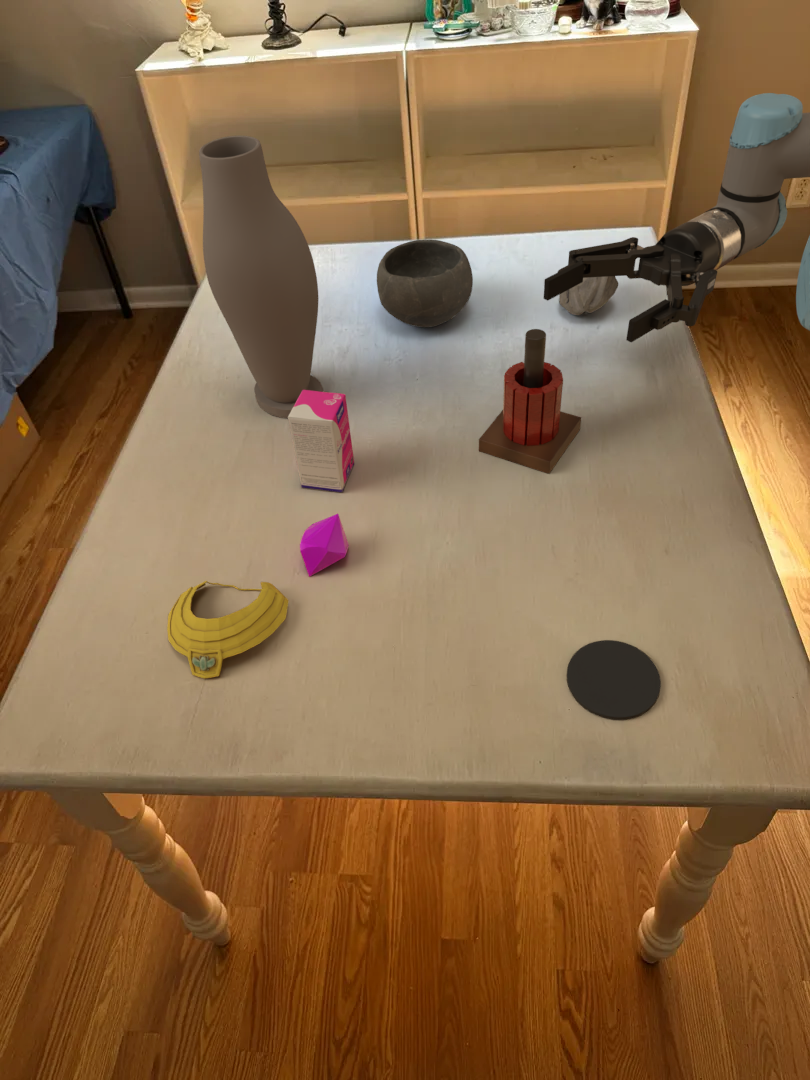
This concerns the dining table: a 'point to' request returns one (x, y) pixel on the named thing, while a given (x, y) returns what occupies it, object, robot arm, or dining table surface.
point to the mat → (613, 679)
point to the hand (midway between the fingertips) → (586, 310)
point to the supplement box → (322, 440)
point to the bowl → (424, 282)
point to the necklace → (223, 628)
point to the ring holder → (539, 454)
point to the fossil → (588, 294)
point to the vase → (259, 271)
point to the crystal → (323, 544)
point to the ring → (532, 406)
